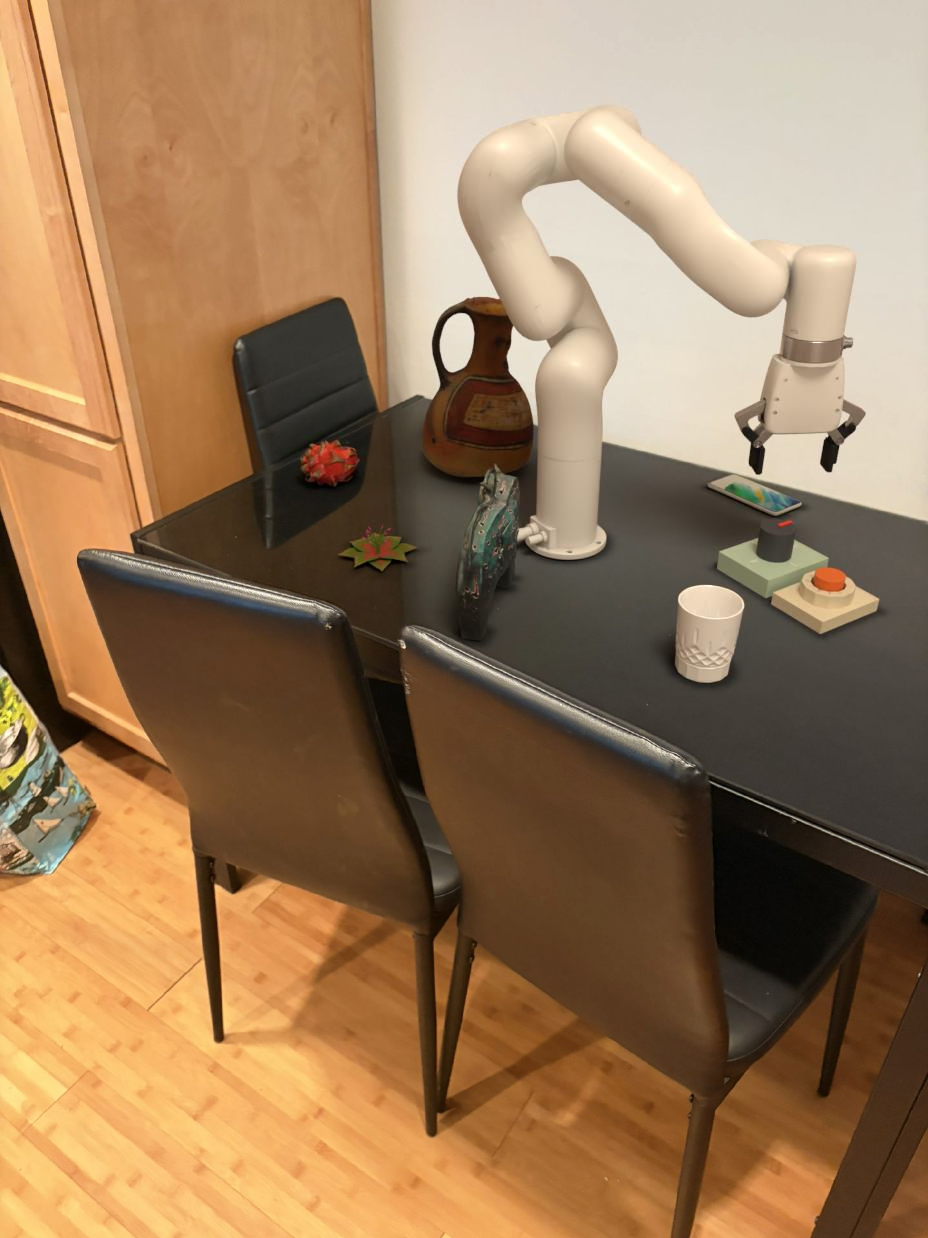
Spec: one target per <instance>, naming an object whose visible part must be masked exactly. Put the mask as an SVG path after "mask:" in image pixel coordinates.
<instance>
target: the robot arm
mask: <svg viewBox="0 0 928 1238" xmlns="http://www.w3.org/2000/svg"><path fill="white" fill-rule="evenodd" d="M578 180H579V182H581V183H582V184H583V185H584V186H586V188H588V189H589V190H591V191H592V192H593V193H595V194H596V195H597V196H598V197H600V198H601V199H602V200H603V201H605V202H606V203H608V204H609V205H610V206H611V207H612V208H614V209H615V210H617V211H618V212H619V213H621V214H622V215H623V216H624V217H626V218H627V219H628V220H629V221H631V222H632V223H633V224H634V225H635V226H636V227H638V228H640V229H641V230H642V231H643V232H644V233H646V234H647V236H649V237H650V238H651V239H652V240H653V241H654V243H655V244H656V245H657V247H658V248H659V249H660V251H662V252H663V253H664V254H665V255H666V256H667V257H668V258H669V259H670V260H671V261H672V262H673V264H674V265H675V266H676V267H677V268H678V269H679V270H680V272H681V273H683V274H684V275H685V276H686V277H687V278H688V279H689V280H690V281H691V282H692V283H694V284H695V285H696V286H697V287H699V288H700V289H701V290H702V291H703V292H704V293H706V294H707V295H709V296H710V297H711V298H712V299H714V300H715V301H716V302H718V303H719V304H720V305H722V307H724V308H726V309H728V311H730V312H732V313H733V314H736V315H739V316H740V317H743V318H760V317H763V316H765V315H768V314H770V313H771V312H772V311H774V310H775V309H776V308H777V307H778V306H779V305H780V304H781V302H782V300H784V301H785V302H786V305H785V314H784V318H783V326H782V333H781V340H780V348H779V353H774V354H773V355H772V357H771V360H770V361H769V364H768V368H767V370H766V374H765V378H764V381H763V385H762V389H761V393H760V399H759V401H756V402H754V403H752V404H751V405H749V406H747V407H745V408H743V409H740V410H738V411H736V412H735V413H734V419H735V421H736V425H737V426H738V428H739V431H740V432H741V434H742V436H743V437H744V438H745V439H746V440H747V441H749V442H750V446H749V454H748V466H749V467H750V468H751V469H752V471H753V472H754V473H755V475H756V476H760V475H762V474H763V469H764V462H765V455H766V448H765V446H764V444H765V443H766V442H767V441H768V440H769V439H770V438H771V437H772V436H773V435H811V434H827V436H825V437H824V439H823V443H822V449H821V454H820V460H819V465H820V466H821V467H822V469H823V470H824V471H825V472H826V473H832V472H833V468H834V465H836V464H837V461H838V457H839V452H840V446H841V445H843V444H844V443H845V440H846V439H848V437H850V436H851V435H852V434H853V433H855V431H856V430H857V427H858V426H859V425H860V424H861V422H862V421H863V420H864V418H865V417H866V414H867V412H866V411H865V410H864V409H863V408H862V407H860V406H858V405H856V404H854V403H853V402H850V401H848V400H847V399H845V398H844V397H845V396H844V395H845V359H844V357H843V351H844V350H846V349H852V347H853V346H854V338H853V337H851V336H850V337H847V336H846V335H845V330H846V325H847V319H848V313H849V309H850V302H851V296H852V292H853V291H852V290H853V285H854V279H855V274H856V269H857V255H856V254H855V253H854V251H853V250H852V249H850V248H847V247H844V246H841V245H836V244H835V245H834V244H814V245H808V246H807V245H801V244H795V243H789V242H784V241H779V240H775V239H774V240H773V239H757V240H753V241H750V242H748V241H747V240H746V239H745V238H744V237H742V236H741V235H740V234H739V233H738V232H736V231H735V230H734V229H733V228H731V227H730V226H729V225H728V224H727V222H726V221H724V220H723V219H722V218H721V216H720V215H719V214H718V213H717V212H716V210H715V209H714V208H713V207H712V205H711V203H710V201H709V200H708V198H707V196H706V194H705V192H704V189H703V187H702V186H701V183H700V182H699V181H698V180H697V178H696V177H695V176H694V175H693V174H692V172H690V171H688V170H687V169H685V168H684V167H683V166H682V165H680V164H679V163H678V162H677V161H675V160H674V159H672V158H671V156H669V155H668V154H666V153H665V152H663V151H662V150H661V149H660V148H659V147H658V146H656V145H655V144H654V143H653V142H651V141H650V140H649V139H648V138H646V137H645V136H644V135H643V133H642V128H641V126H640V123H639V121H638V120H637V118H636V117H635V115H634V114H633V113H632V111H630V110H628V109H627V108H625V107H623V106H620V105H617V104H604V105H599V106H596V107H595V106H594V107H590V108H586V109H580V110H576V111H569V112H564V113H557V114H552V115H546V116H540V117H534V118H529V119H524V120H520V121H517V122H514V123H511V124H509V125H506V126H503V127H501V128H498V129H495V130H493V131H492V132H491V133H489V134H487V135H486V136H485V137H483V138H482V139H481V140H480V141H479V142H478V143H477V144H476V146H475V147H474V148H473V149H472V150H471V152H470V153H469V155H468V156H467V158H466V160H465V162H464V164H463V167H462V170H461V172H460V175H459V178H458V183H457V194H456V195H457V196H456V197H457V207H458V212H459V216H460V219H461V222H462V224H463V227H464V229H465V231H466V233H467V236H468V239H470V241H471V244H472V245H473V247H474V249H475V251H476V253H477V255H478V256H479V258H480V261H481V262H482V265H483V267H484V269H485V271H486V273H487V277H488V278H489V280H490V282H491V284H492V286H493V288H494V290H495V292H496V294H497V296H498V299H500V300H501V302H502V304H503V306H504V308H505V310H506V312H507V314H508V316H509V319H510V321H511V322H512V324H513V328H514V329H515V330H516V332H517V333H518V334H519V335H521V336H522V337H523V338H525V339H527V340H529V341H533V342H541V341H546V342H547V344H548V346H549V348H550V349H549V350H548V351H547V352H546V354H545V355H544V357H543V358H542V360H541V361H540V364H539V366H538V369H537V372H536V375H535V376H536V377H535V381H534V382H535V384H534V395H535V405H536V415H537V466H536V467H537V470H536V505H535V507H536V508H535V509H536V510H535V514H533V515H531V516H530V517H529V523H527V524H525V527H519V532H518V536H517V543H519V542H523V541H525V544H526V545H527V547H528V548H529V549H530V550H531V551H533V552H535V553H536V554H537V555H540V556H543V557H546V558H549V559H554V560H563V561H572V560H573V561H574V560H581V559H586V558H590V557H592V556H595V555H597V554H599V553H600V552H601V551H603V550H604V548H605V547H606V544H607V532H605V530H604V529H603V528H602V527H601V526H600V525H599V524H598V521H599V520H598V518H599V504H600V503H599V501H600V487H601V485H600V484H601V473H602V472H601V471H602V470H601V468H602V455H603V454H602V453H603V449H602V448H603V433H604V432H603V429H604V428H603V425H604V423H603V422H604V421H603V418H604V417H603V398H604V391H605V388H606V387H607V385H608V383H609V382H610V379H612V376H613V375H614V373H615V370H616V368H617V366H618V361H619V350H618V345H617V341H616V339H615V337H614V335H613V332H612V330H611V328H610V326H609V323H608V321H607V318H606V316H605V315H604V313H603V311H602V308H601V306H600V304H599V302H598V300H597V297H596V295H595V293H594V292H593V291H594V290H592V287H591V285H590V283H589V281H588V279H587V277H586V275H585V274H584V273H583V272H582V270H581V269H580V268H579V266H578V265H576V264H575V263H574V262H573V261H571V260H570V259H567V258H566V257H562V256H558V255H550V254H549V252H548V250H547V248H546V247H545V243H544V242H543V240H542V237H541V235H540V232H539V231H538V229H537V227H536V226H535V224H534V223H533V221H532V220H531V218H530V217H529V215H528V214H527V213H526V211H525V209H524V205H523V199H524V197H525V196H526V195H527V194H528V193H530V192H532V191H533V190H535V189H536V188H538V187H542V186H546V185H547V186H548V185H552V184H561V183H567V182H572V181H578ZM843 412H844V413H846V414H848V415H849V417H848V418H847V419H846V420H845V421H844V422H842V423H841V418H842V415H843V414H842V413H843ZM754 417H757V421H758V422H759V423H758V425H757V426H756V427H755V428H754V429H752V428H751V427H750V424H749V421H750V420H752V419H754ZM840 423H841V424H840Z"/></svg>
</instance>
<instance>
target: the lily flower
mask: <svg viewBox="0 0 928 1238" xmlns="http://www.w3.org/2000/svg"><path fill="white" fill-rule="evenodd" d="M383 528H384V525H383V524H382V526H381V528H380V529H379V533H377V532H376V531H374V532H373V530H372V528H371V527H370V526H368V529H369V530H368V529H366V530H365V534H366V536H367V537H364V536H362V538H359V539H355V540H352V541H350V544H351V545H352V546H353V547H350V548H347V549H346V550H344V551H342V552H341V553H338V554H337V556H342V557H348V558H353V559H354V568H356V567H358V566H360V565H362V564H365V563H366V562H367V563H369V564H370V565H372V566H373V567H375V568H376V569H378V570H380V571H381V572H383V571H384V569H386V568H387V566H388V565H390V564H391V562H392V560H393V559H394V560H397V561H398V560H399V561H403V562H407V563H409V561H408V560H407V557H406V553H407V552H410V551H412V550H414V549H415V550H416V549H418V548H419V547H418V546H414V545H411V544H409V543H400V542H401V540H402V536H393V535H388V534H389V533H388V532H387V531H390V530H391V529H392V528H391V527H389V528H387V530H384V532H383V533H382V530H383ZM381 533H382V534H381Z"/></svg>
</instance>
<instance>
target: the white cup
mask: <svg viewBox="0 0 928 1238" xmlns="http://www.w3.org/2000/svg"><path fill="white" fill-rule="evenodd" d="M744 602H745V601H744V599H743V598H742V597H741V595H739V594H738V593H736V592H735V591H733V590H731V589H729V588H726V587H723V586H718V585H711V584H700V585H694V586H690V587H686V588H685V589H683V590H682V591H681V592H680V593H679V595H678V597H677V607H676V608H677V610H676V612H677V613H676V624H675V625H676V626H675V657H674V666H675V668H676V670H677V672H678V674H679V675H681V676H683V678H686V679H688V680H690V681H693V682H697V683H704V684H705V683H706V684H711V683H715V682H720V681H722V680H723V679H725V677H726V678H727V676H728V675H729V671H730V667H731V663H732V658H733V656H734V654H735V649H736V646H737V640H738V639H739V634H740V628H741V623H742V618H743V614H744V610H745V603H744Z"/></svg>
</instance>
